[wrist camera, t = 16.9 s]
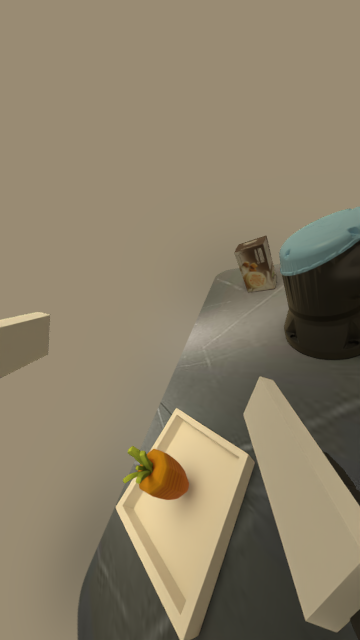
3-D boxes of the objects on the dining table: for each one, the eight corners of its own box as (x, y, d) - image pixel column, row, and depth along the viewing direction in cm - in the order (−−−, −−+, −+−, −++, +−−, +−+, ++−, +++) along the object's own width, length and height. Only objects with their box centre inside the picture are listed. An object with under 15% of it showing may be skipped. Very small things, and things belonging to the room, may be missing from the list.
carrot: (202, 507, 26) (145, 484, 18) (173, 510, 27) (109, 490, 20) (198, 465, 30) (151, 432, 22) (174, 470, 31) (121, 440, 24)
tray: (184, 416, 39) (176, 408, 37) (255, 462, 28) (248, 454, 26) (130, 511, 31) (115, 507, 29) (198, 635, 19) (181, 643, 17)
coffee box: (277, 278, 61) (267, 234, 53) (275, 289, 57) (264, 243, 49) (250, 283, 67) (238, 244, 59) (247, 293, 63) (233, 252, 55)
